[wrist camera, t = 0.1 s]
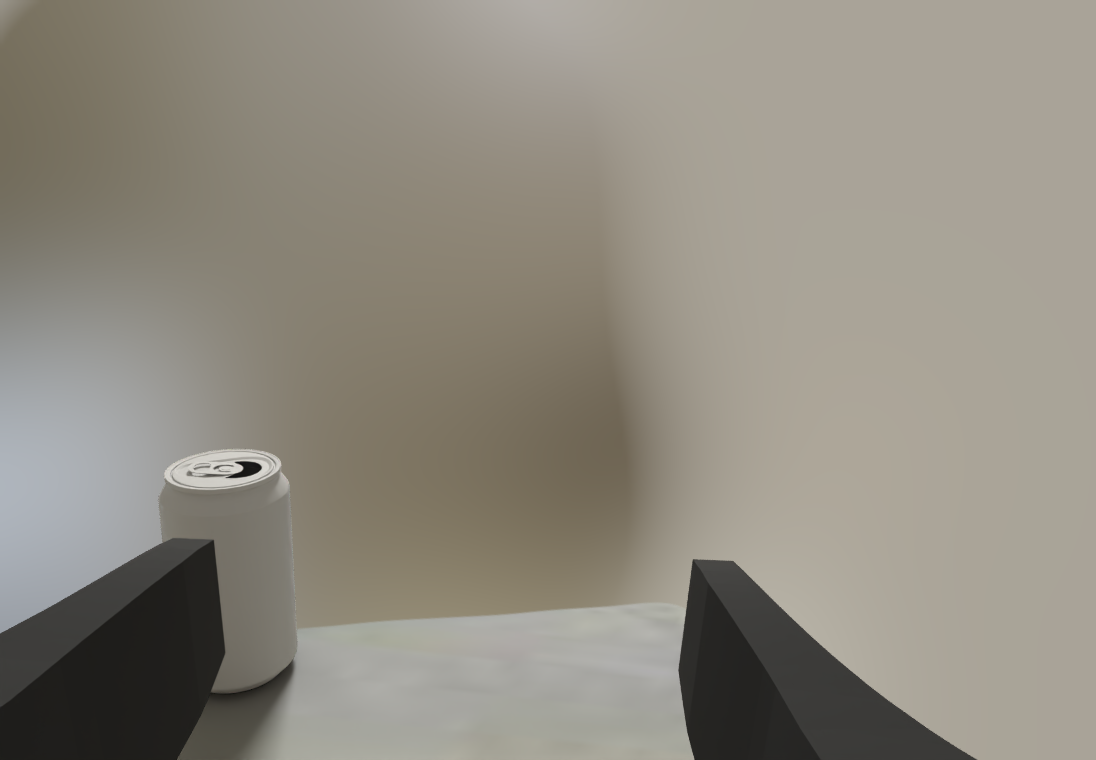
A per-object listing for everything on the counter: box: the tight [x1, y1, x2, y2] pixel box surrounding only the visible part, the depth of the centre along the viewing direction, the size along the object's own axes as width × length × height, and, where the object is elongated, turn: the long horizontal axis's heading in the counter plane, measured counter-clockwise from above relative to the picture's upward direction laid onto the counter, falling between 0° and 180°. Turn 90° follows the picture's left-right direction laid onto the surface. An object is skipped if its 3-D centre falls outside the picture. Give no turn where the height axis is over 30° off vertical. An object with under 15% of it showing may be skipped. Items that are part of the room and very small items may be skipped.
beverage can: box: [158, 449, 297, 693], centre depth 43 cm, size 6×6×12 cm
